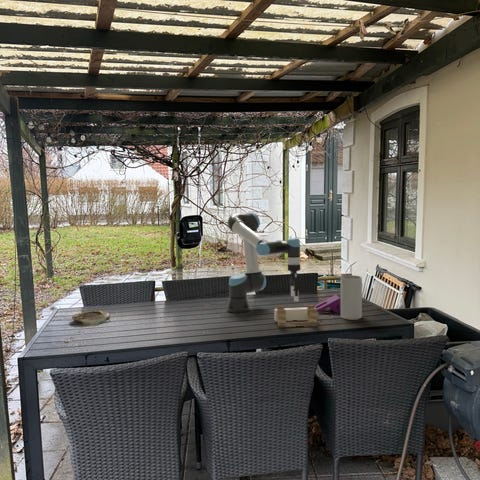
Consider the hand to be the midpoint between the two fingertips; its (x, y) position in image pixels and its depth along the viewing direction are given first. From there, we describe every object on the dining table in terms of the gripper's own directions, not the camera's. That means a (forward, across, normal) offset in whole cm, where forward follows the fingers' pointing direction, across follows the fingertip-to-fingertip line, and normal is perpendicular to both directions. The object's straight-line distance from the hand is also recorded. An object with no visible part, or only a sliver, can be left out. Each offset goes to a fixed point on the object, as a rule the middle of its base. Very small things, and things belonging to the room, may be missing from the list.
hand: (294, 298), depth 258 cm
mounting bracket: (+14, +18, -24) cm, 33 cm away
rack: (+13, -9, 0) cm, 16 cm away
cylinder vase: (+14, +2, -35) cm, 37 cm away
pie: (+13, +11, +128) cm, 129 cm away
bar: (+13, 0, -1) cm, 13 cm away
